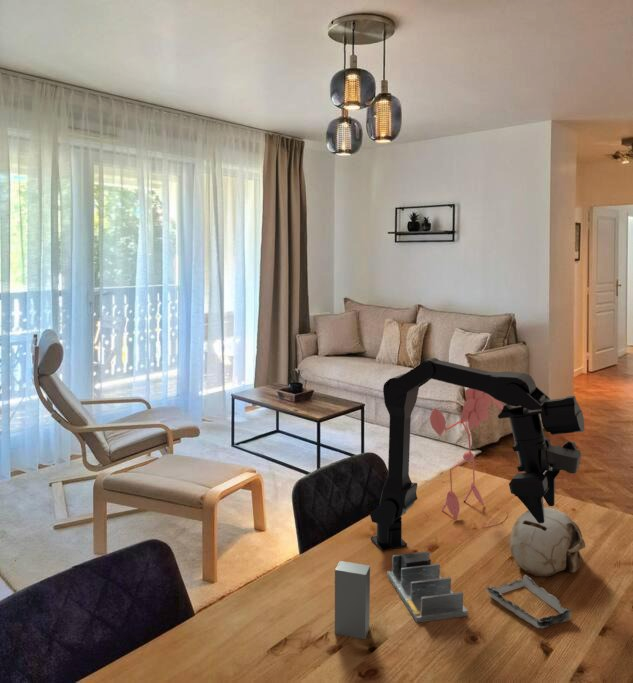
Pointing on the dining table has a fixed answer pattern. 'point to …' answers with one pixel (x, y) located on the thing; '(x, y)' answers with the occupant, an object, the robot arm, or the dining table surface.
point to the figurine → (474, 413)
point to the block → (352, 599)
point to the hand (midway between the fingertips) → (546, 514)
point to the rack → (425, 588)
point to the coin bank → (546, 543)
